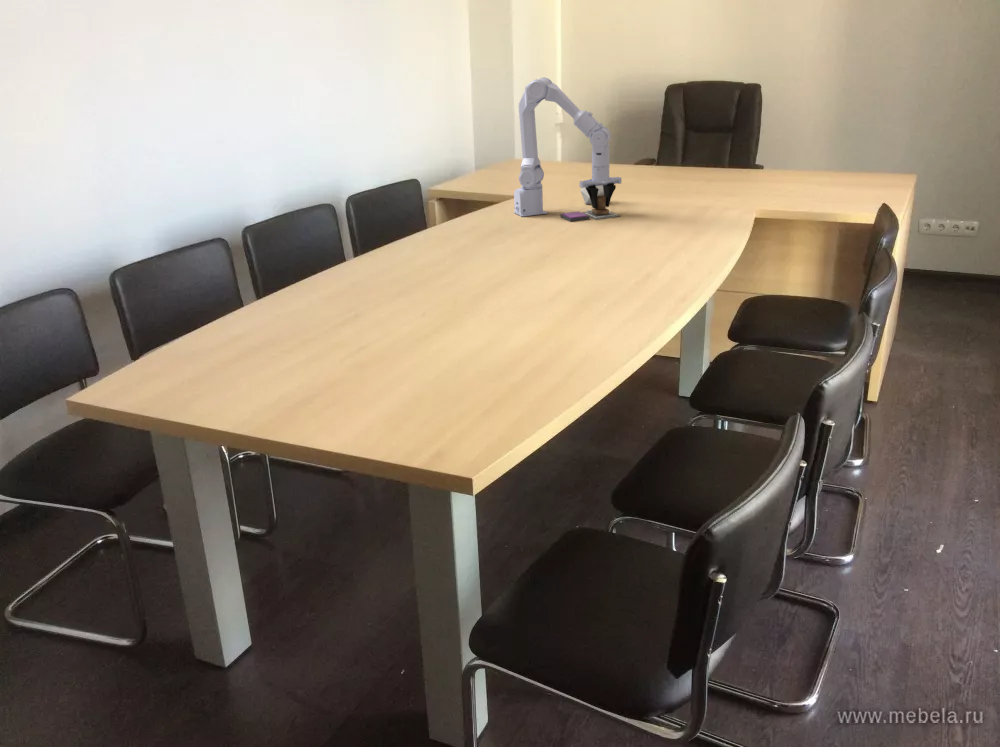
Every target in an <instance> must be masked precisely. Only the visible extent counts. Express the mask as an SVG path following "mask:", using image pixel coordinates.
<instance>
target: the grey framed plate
mask: <svg viewBox="0 0 1000 747" xmlns="http://www.w3.org/2000/svg"><path fill="white" fill-rule="evenodd" d="M582 213H583V214H586V215H588V216H590V218H591V219H594V220H602V219H603V220H605V219H609V218H619V217H621V215H620V214H617V213H614V212H612V211H610V210H609V215H602V216H596V215H594V214H592V209H588V210H586V211H585V212H582Z"/></svg>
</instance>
